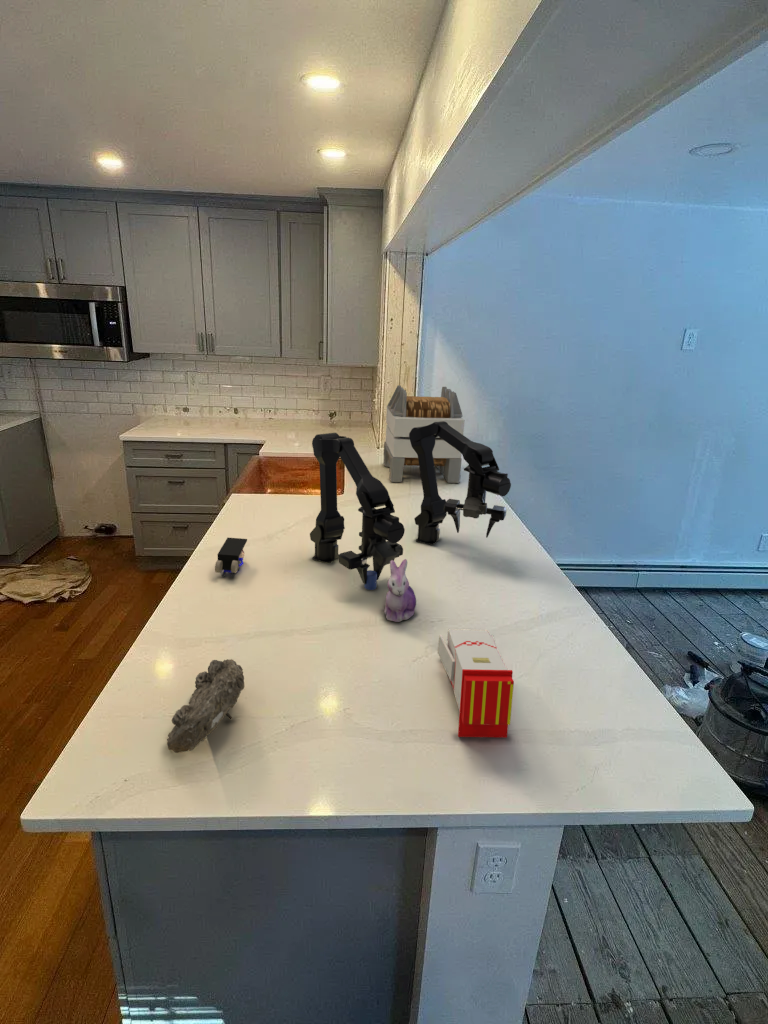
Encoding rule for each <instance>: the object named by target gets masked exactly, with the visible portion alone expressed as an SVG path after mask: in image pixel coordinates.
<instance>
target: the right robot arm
mask: <svg viewBox="0 0 768 1024" xmlns="http://www.w3.org/2000/svg"><path fill="white" fill-rule="evenodd" d="M438 436H439V437H440V438H441V439H443V440H444V441H446V442H447V443H448V444H450V445H451V446H452V447H454V448H455V449H457V450H458V451H459V452H460V453H461V456H462V458H463V460H464V461H465V462H466V463H467V464H468V465H467V466H466V467H463V471H464V472H467V473H468V481H467V490H466V491H467V493H466V497H465V500H464V503H461V500H460V499H454V498H449V499H447V500H446V499H445V498H444V499H443V498H442V497H441V496H440V494H439V487H438V483H437V474H436V466H434V461H433V454H432V452H433V449H434V446H435V438H436V437H438ZM409 438H410V442H411V446H412V448H413V449H414V451H415V452H416V453H417V455H418V461H419V466H418V467H419V473H420V480H421V487H422V494H423V498H422V501H421V504H420V513H419V514H418V515H416V516H415V517H414V524H415V525H416V526H418V527H417V538H416V539H415V542H417V543H421V544H425V545H430V546H435V544H436V543H437V542H438V541H439V540H440V532H441V528H439V526H440V524H443V522H444V520H445V518H446V517H447V515H448V516H451V518H452V520H453V523H454V526H455V530H456V533H457V534H459V533H460V528H461V511H462V516H463V517H465V518H473V519H479V518H480V516H482V515H484V516H485V515H490V517H489V521H488V526H487V529H486V533H485V538H487V539H488V537H489V535H490V533H491V530H492V529H493V527H494V525H495V524H496V523H500V521H504V520H505V518H506V516H507V507H506V506H503V505H496V504H495V505H493V507H492V508H491V507H488V503H487V502H486V499H487V492H488V493H491V494H494V495H497V496H499V497H505V496H507V495H508V494H509V492H510V491H511V487H512V483H511V479H510V478H509V473H507V472H501V471H500V467H499V465H498V463H497V460H496V458H495V455H494V453H493V452H494V451H493V449H492V448H491V447H490V446H487V445H485V444H484V443H480V442H476V441H473V440H471V439H469V438H468V437H466V435H464V434H463V435H462V434H461V433H459V432H458V431H457V430H455V429H454V428H452V427H451V426H449V425H448V423H447V422H445V421H439V422H434V423H432V424H430V425H427V426H422V427H414V428H412V430H411V431H410V433H409Z"/></svg>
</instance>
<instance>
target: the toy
mask: <svg viewBox="0 0 768 1024" xmlns="http://www.w3.org/2000/svg"><path fill="white" fill-rule="evenodd" d="M446 640H447V643H446V641H445V639H444V636H443V635H442V634H439V637H438V646H437V656H438V657H439V659H440V661H441V663H442V666H443V668H444V670H445V672H446V674H447V677H448V679H449V681H450V684H451V687H452V690H453V693H454V697H455V701H456V705H457V708H458V711H459V714H458V715H459V716H458V730H457V731H458V732H457V737H458V738H508V731H509V726H510V725H511V717H512V707H513V697H514V696H513V695H514V684H515V680H514V679H513V673H514V671H513V670H512V669H508V667H507V665H506V662H505V661H504V659H503V658H502V655H501V653H500V651H499V649H498V647H497V643H496V639H495V637H494V635H493V634H491V632H490V631H489V629H467V628H466V629H465V628H463V629H461V628H460V629H459V628H448V630H447V639H446Z"/></svg>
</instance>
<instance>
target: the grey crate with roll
mask: <svg viewBox="0 0 768 1024" xmlns="http://www.w3.org/2000/svg"><path fill="white" fill-rule="evenodd" d="M440 393H441V394H440V396H415V395H414V396H413V395H412V396H411V395H407V394H408V393H407V390H406V389H404V388H403V387H402V385H399V384H398V385H397V386H396V388H395V390H394V392H393V394H392V395H391V398H390V400H389V402H388V404H387V405H386V413H385V414H386V415H385V423H386V428H385V438H384V442H383V466H384V467H388V468H389V475H388V476H389V477H388V478H389V480H390V482H391V483H402V482H403V475H404V469H405V466H406V467H407V466H411V467H412V466H413V467H415V466H416V467H417V466H418V467H419V461H418V455H417V453H416V452H415V451H414V449H413V448H412V446H411V442H410V438H409V433H410V431H411V430H412V428H414V427H422V426H427V425H430V424H432V423H434V422H439V421H445V422H447V423H448V425H449V426H451V427H452V428H454V429H455V430H457V431H458V432H459V433H461V434H462V435H464V431H465V430H464V429H465V419H464V418H463V411H462V408H461V405H460V402H459V398H458V395H457V392H455V391H453V390H452V389H451V388H447V386H442V387H441V392H440ZM432 454H433V461H434V467H436V468H437V470H438V469H439V473H440V474H441V475H443V478H444V479H445V481H446V482H447V483H449V484H455V483H456V484H459V483H461V472H462V461H463V460H462V458H463V457H462V454H461V453H460V452H459V451H458V450H457V449H455V448H454V447H452V446H451V445H450V444H448V443H447V442H446V441H444V440H443V439H441V438H440V437H439V436H438V437H436V438H435V446H434V449H433V452H432Z"/></svg>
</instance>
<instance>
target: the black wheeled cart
mask: <svg viewBox="0 0 768 1024" xmlns="http://www.w3.org/2000/svg"><path fill="white" fill-rule="evenodd" d="M247 542H248V538H240V537H226V539H225V541H224V543H223V544H222V546H221V547H220V549H219V551H218V552H217V560H216V562H215V564H214V572H215V573H221V577H222V578H224V577H225V576H226V574H227V573H230V574H231V573H232V574H231V578H234V577H235V575H236V573H237V572H239V571H240V567H242V566H243V565H244V564H245V562H244V558H245V551H244V547H245V546H246V544H247Z"/></svg>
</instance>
